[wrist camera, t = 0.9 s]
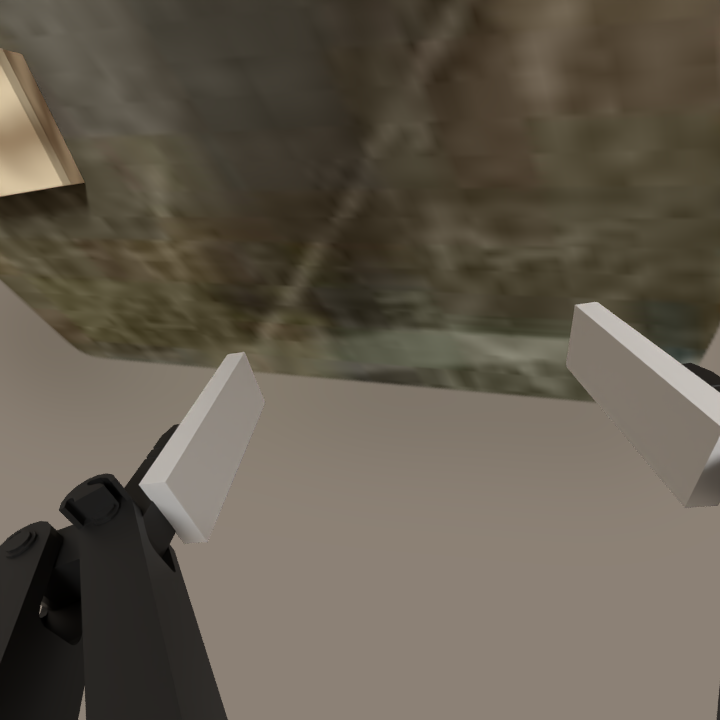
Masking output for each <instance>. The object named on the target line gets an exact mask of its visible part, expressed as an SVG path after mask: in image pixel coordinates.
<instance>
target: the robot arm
mask: <svg viewBox="0 0 720 720" xmlns="http://www.w3.org/2000/svg"><path fill="white" fill-rule="evenodd" d="M566 367H567V368H568V369H569V370H570V371H571V373H572V374H573V375H574V376H575V377H576V379H577V380H578V381H579V382H580V383H581V385H582V386H583V387H584V388H585V389H586V391H587V392H588V393H589V394H590V395H591V397H592V398H593V399H594V400H595V401H596V403H597V404H598V405H599V406H600V407H601V408H602V410H603V411H604V412H605V413H606V414H607V416H608V417H609V418H610V419H611V420H612V422H613V423H614V424H615V425H616V426H617V427H618V429H619V430H620V431H621V432H622V434H623V435H624V436H625V437H626V438H627V440H628V441H629V442H630V443H631V444H632V446H633V447H634V448H635V449H636V450H637V452H638V453H639V454H640V455H641V456H642V457H643V459H644V460H645V461H646V462H647V463H648V465H649V466H650V467H651V468H652V469H653V471H654V472H655V473H656V474H657V475H658V477H659V478H660V479H661V480H662V481H663V483H664V484H665V485H666V486H667V487H668V488H669V490H670V491H671V492H672V493H673V495H674V496H675V497H676V498H677V499H678V500H679V502H680V503H681V504H682V505H683V506H684V508H691V507H704V506H717V505H718V504H719V503H720V377H719V376H718V375H716V374H715V373H714V372H712V371H709V370H707V369H705V368H702V367H700V366H697V365H695V364H692V363H686V364H680V363H679V362H678V361H676V360H675V359H674V358H672V357H671V356H670V355H668V354H667V353H666V352H664V351H663V350H661V349H660V348H659V347H657V346H656V345H655V344H653V343H652V342H651V341H649V340H648V339H647V338H645V337H644V336H643V335H641V334H640V333H638V332H637V331H636V330H634V329H633V328H632V327H630V326H629V325H628V324H626V323H625V322H624V321H622V320H621V319H620V318H618V317H617V316H616V315H614V314H613V313H611V312H610V311H609V310H607V309H606V308H605V307H603V306H602V305H601V304H599V303H598V302H592V303H585V304H578V305H575V309H574V316H573V322H572V329H571V336H570V342H569V349H568V355H567V362H566ZM264 404H265V400H264V398H263V395H262V393H261V391H260V388H259V386H258V383H257V381H256V379H255V376H254V373H253V371H252V369H251V366H250V364H249V361H248V359H247V356H246V354H245V352H240V353H233V354H227V356H226V357H225V359H224V360H223V362H222V363H221V365H220V366H219V368H218V369H217V371H216V372H215V374H214V375H213V376H212V378H211V380H210V381H209V382H208V384H207V385H206V387H205V388H204V390H203V391H202V393H201V394H200V396H199V397H198V399H197V400H196V402H195V403H194V404H193V406H192V407H191V409H190V410H189V412H188V413H187V415H186V416H185V418H184V419H183V421H182V422H181V424H177V425H174V426H173V427H171V428H170V429H169V430H168V431H167V432H166V433H164V434H163V435H162V437H161V438H160V439H159V441H158V442H157V443H156V445H155V446H154V450H151V452H150V453H149V454H148V456H147V459H145V460H144V462H143V463H142V464H141V466H140V467H139V468H138V470H137V471H136V473H135V474H134V475H133V477H132V478H131V480H130V481H129V482H128V484H127V485H126V487H125V488H123V486H122V485H121V484H120V483H119V482H118V480H117V479H116V478H115V477H114V475H112V474H102V475H97V476H95V477H93V478H90V479H88V480H86V481H84V482H83V483H81V484H80V485H78V486H77V487H75V488H74V489H73V490H72V491H71V492H70V493H69V494H68V495H67V496H66V497H65V499H64V500H63V501H62V503H61V505H60V509H59V511H60V512H61V513H62V514H63V515H64V516H65V517H66V518H67V519H68V520H69V521H70V522H71V523H72V524H73V525H71V526H68V527H66V528H63V529H60V530H56V529H54V528H53V527H52V526H51V525H50V524H49V523H48V522H43V521H39V522H36V523H33V524H30V525H28V526H26V527H24V528H22V529H20V530H19V531H17V532H15V533H14V534H12V535H11V536H10V537H9V538H7V540H6V541H5V542H4V543H3V544H2V545H1V546H0V720H78V716H79V711H80V706H81V701H82V696H83V691H84V686H85V702H86V720H228V719H227V716H226V713H225V710H224V707H223V703H222V700H221V697H220V694H219V691H218V687H217V684H216V681H215V678H214V675H213V672H212V669H211V665H210V662H209V659H208V656H207V653H206V649H205V646H204V643H203V640H202V637H201V634H200V630H199V628H198V624H197V621H196V618H195V615H194V611H193V608H192V605H191V602H190V599H189V596H188V592H187V589H186V586H185V583H184V580H183V577H182V573H181V570H180V567H179V564H178V561H177V557H176V554H175V551H174V549H173V548H172V547H171V546H170V542H171V540H172V538H173V536H174V534H175V532H176V534H177V535H178V536H179V537H180V539H181V540H182V541H183V543H185V544H186V543H200V542H208V540H209V537H210V535H211V532H212V530H213V528H214V525H215V523H216V520H217V518H218V516H219V513H220V511H221V508H222V506H223V504H224V501H225V499H226V496H227V494H228V492H229V489H230V487H231V484H232V482H233V479H234V477H235V475H236V472H237V470H238V467H239V465H240V463H241V460H242V458H243V455H244V453H245V450H246V448H247V446H248V443H249V441H250V438H251V436H252V434H253V431H254V429H255V426H256V424H257V421H258V419H259V417H260V414H261V412H262V410H263V407H264ZM40 605H42V609H41V613H40V615H39V611H40ZM717 720H720V688H719V699H718V711H717Z"/></svg>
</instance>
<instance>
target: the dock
mask: <svg viewBox="0 0 720 720" xmlns="http://www.w3.org/2000/svg"><path fill="white" fill-rule="evenodd" d="M80 183H85V182H84V180H83V178H82V176H81V174H80V172H79V170H78V168H77V166H76V163H75V161H74V159H73V157H72V155H71V153H70V151H69V149H68V147H67V145H66V143H65V141H64V139H63V137H62V135H61V133H60V131H59V129H58V127H57V125H56V123H55V121H54V119H53V117H52V115H51V112H50V110H49V108H48V106H47V104H46V102H45V100H44V98H43V96H42V94H41V92H40V90H39V88H38V86H37V84H36V82H35V80H34V78H33V76H32V74H31V72H30V70H29V68H28V66H27V64H26V61H25V59H24V57H23V55H22V54H19V53H15V52H11V51H7V50H3V49H1V48H0V197H4V196H10V195H16V194H20V193H27V192H34V191H39V190H45V189H51V188H55V187H63V186H69V185H74V184H80Z"/></svg>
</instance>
